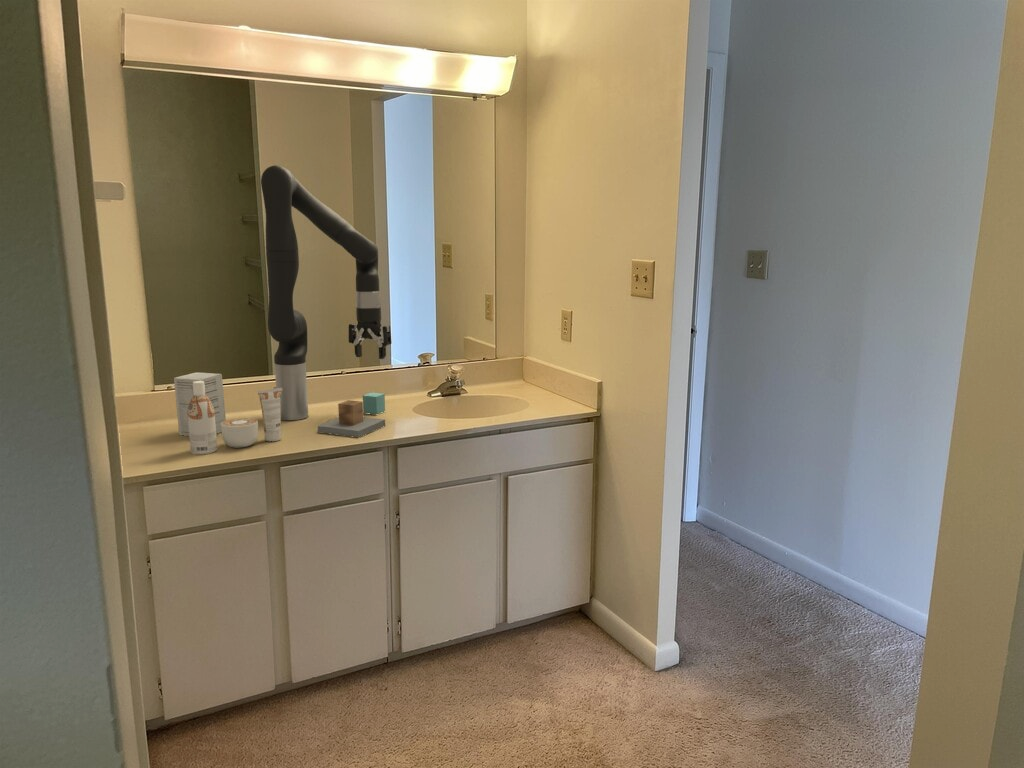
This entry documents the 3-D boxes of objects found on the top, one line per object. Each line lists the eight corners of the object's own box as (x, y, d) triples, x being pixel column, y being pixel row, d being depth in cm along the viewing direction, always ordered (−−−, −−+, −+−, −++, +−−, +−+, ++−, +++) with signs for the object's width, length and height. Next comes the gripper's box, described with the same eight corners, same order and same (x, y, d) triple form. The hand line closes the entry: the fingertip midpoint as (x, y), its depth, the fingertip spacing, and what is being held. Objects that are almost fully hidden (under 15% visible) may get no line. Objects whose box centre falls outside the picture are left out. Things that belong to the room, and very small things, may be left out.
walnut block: (339, 423, 216) (338, 403, 215) (348, 419, 220) (348, 400, 219) (353, 425, 214) (352, 405, 213) (363, 421, 219) (362, 401, 217)
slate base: (317, 432, 214) (317, 425, 213) (345, 421, 227) (345, 415, 226) (359, 437, 209) (358, 430, 208) (385, 425, 221) (385, 419, 221)
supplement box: (227, 430, 216) (223, 373, 212) (205, 438, 207) (200, 379, 204) (201, 427, 219) (196, 371, 215) (177, 435, 210) (172, 377, 207)
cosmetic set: (279, 434, 212) (275, 370, 208) (291, 442, 205) (287, 375, 201) (186, 449, 197) (180, 380, 193) (195, 457, 190) (189, 386, 186)
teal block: (363, 413, 236) (362, 395, 235) (371, 410, 241) (371, 392, 240) (376, 415, 235) (376, 396, 233) (385, 411, 239) (384, 393, 238)
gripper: (341, 306, 227) (344, 358, 231) (381, 308, 222) (383, 361, 225) (356, 304, 234) (358, 354, 237) (394, 305, 228) (396, 357, 232)
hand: (370, 357), depth 231 cm, fingers open, 8 cm apart
